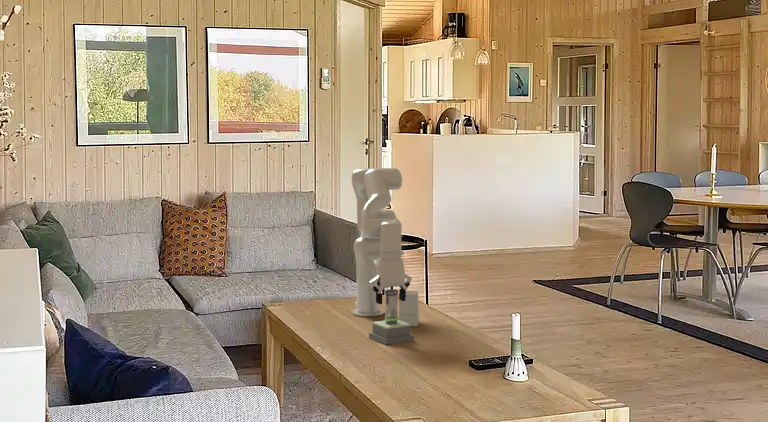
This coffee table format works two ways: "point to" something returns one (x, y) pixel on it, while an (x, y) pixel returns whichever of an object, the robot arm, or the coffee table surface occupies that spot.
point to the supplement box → (409, 308)
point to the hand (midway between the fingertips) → (390, 302)
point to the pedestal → (391, 332)
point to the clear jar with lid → (391, 306)
